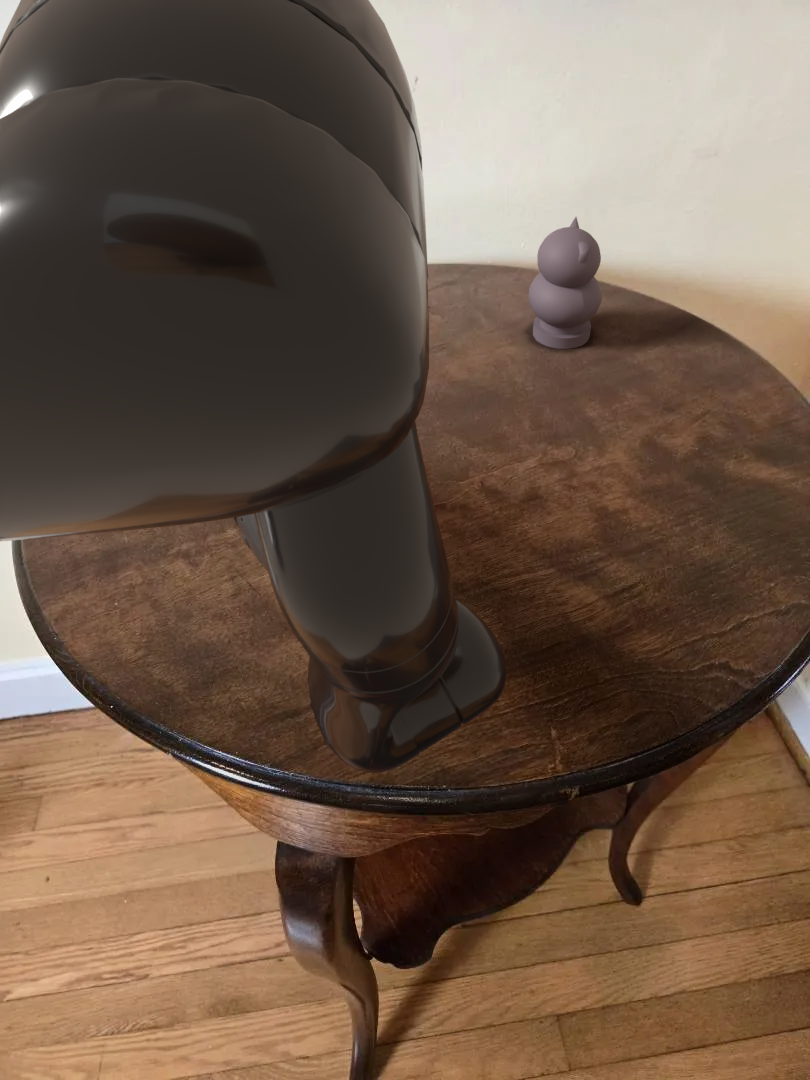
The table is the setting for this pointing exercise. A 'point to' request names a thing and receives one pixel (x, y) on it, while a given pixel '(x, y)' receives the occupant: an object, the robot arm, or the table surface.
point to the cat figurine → (565, 288)
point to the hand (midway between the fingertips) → (213, 386)
